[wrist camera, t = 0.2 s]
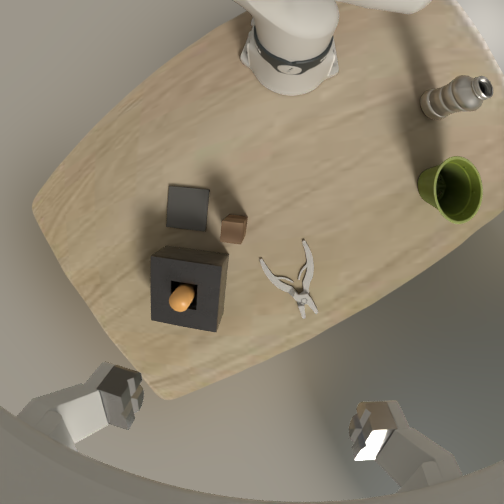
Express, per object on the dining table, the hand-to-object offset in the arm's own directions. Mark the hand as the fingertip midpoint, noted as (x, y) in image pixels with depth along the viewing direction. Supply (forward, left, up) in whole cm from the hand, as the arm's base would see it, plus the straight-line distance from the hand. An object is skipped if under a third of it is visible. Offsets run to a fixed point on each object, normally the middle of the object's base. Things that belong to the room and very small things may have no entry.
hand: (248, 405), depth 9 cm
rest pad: (0, -16, -47) cm, 50 cm away
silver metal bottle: (-29, +30, -47) cm, 63 cm away
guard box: (+15, -13, -47) cm, 51 cm away
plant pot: (-12, +32, -47) cm, 58 cm away
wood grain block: (+2, -6, -47) cm, 48 cm away
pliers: (+12, +7, -48) cm, 50 cm away
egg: (+15, -13, -42) cm, 46 cm away
